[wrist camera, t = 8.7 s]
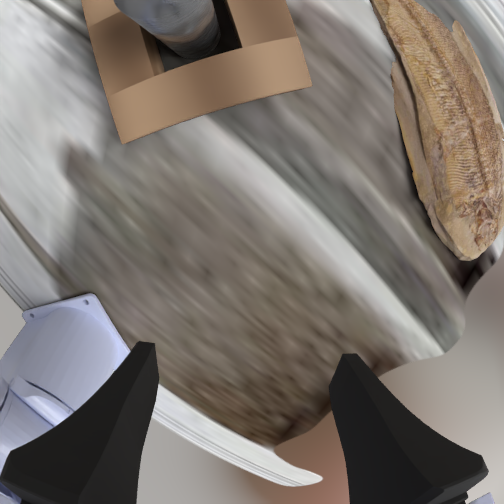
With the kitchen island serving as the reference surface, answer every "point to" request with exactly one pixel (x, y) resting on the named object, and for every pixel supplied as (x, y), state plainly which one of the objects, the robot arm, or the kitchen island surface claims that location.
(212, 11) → the steel peg
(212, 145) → the kitchen island surface
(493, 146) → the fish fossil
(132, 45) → the walnut hole block
